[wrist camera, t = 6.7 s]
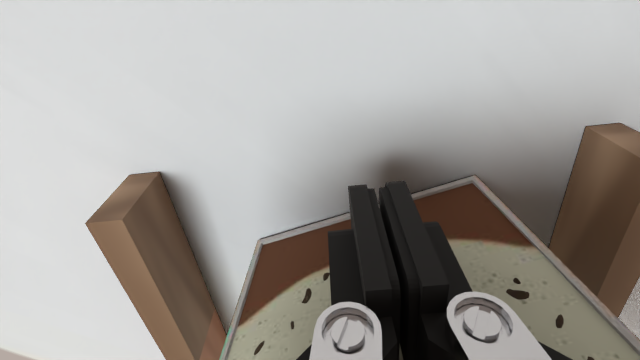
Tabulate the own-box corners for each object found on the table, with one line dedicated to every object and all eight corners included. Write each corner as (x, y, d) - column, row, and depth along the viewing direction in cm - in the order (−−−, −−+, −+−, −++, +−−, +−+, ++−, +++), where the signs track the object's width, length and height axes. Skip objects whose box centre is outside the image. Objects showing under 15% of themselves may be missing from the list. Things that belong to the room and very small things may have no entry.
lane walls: (620, 122, 12) (698, 162, 10) (541, 340, 19) (576, 398, 17) (129, 175, 13) (85, 223, 11) (218, 365, 20) (203, 423, 18)
